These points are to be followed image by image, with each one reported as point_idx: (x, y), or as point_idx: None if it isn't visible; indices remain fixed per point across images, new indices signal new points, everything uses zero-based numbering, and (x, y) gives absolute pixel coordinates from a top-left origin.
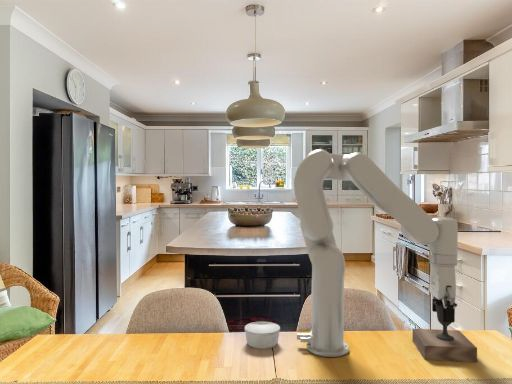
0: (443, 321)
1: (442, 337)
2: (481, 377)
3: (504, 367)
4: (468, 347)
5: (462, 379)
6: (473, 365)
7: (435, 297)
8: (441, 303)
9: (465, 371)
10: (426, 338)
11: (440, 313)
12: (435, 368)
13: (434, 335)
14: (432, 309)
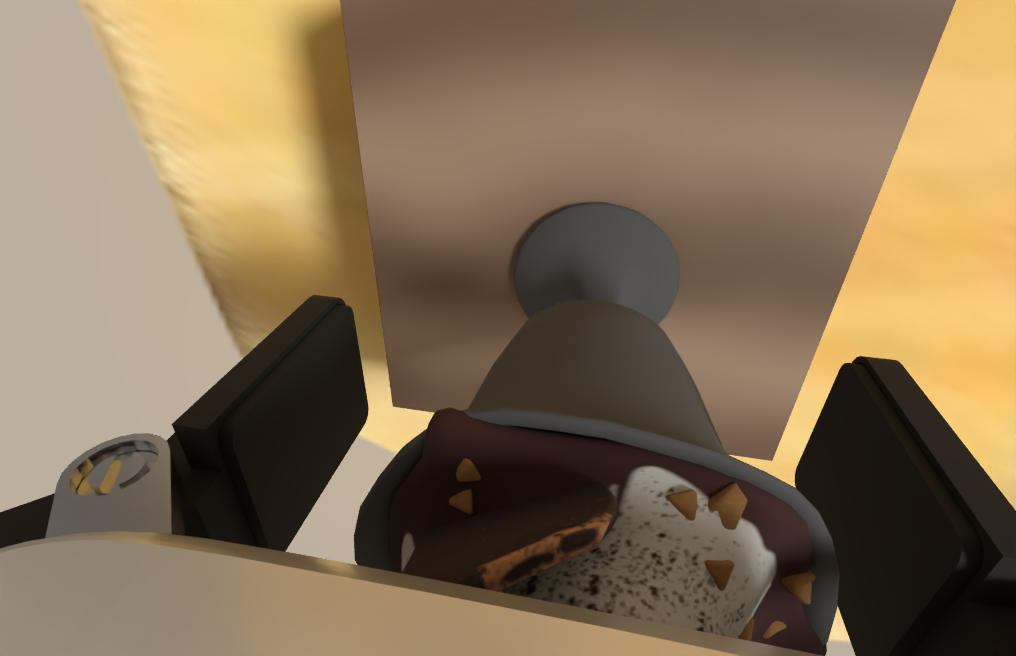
0: (317, 300)
1: (548, 246)
2: (225, 280)
3: (389, 440)
4: (387, 359)
5: (151, 160)
6: (376, 311)
7: (343, 568)
8: (443, 528)
9: (273, 227)
10: (557, 70)
11: (501, 373)
12: (248, 25)
13: (655, 199)
14: (887, 369)
